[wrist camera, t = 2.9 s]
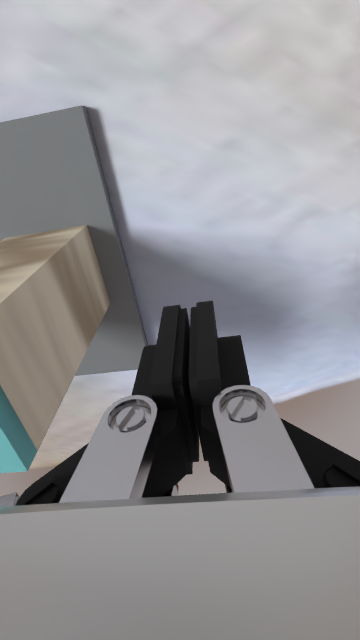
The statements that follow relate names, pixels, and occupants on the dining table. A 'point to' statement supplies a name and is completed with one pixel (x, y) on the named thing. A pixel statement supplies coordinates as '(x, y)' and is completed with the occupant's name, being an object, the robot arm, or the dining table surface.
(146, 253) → the dining table surface
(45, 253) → the birch block
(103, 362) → the rubber mat
